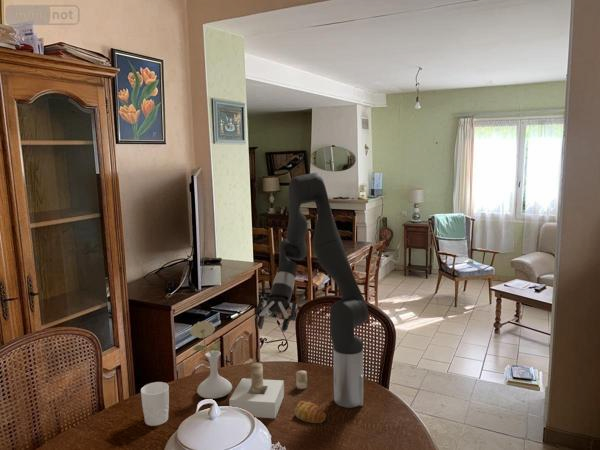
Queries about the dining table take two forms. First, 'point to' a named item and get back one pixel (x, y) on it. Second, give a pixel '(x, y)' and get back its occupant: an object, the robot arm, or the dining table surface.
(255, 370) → the tall birch pin
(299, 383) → the short birch pin
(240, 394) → the guide block
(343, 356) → the robot arm
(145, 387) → the white cup
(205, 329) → the flower in vase
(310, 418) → the pastry
